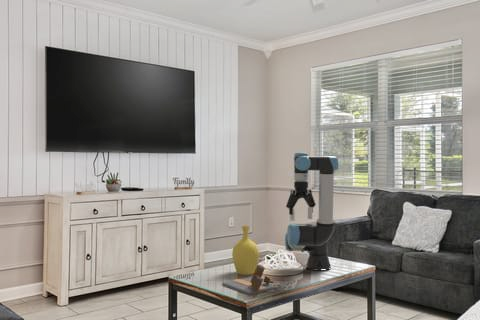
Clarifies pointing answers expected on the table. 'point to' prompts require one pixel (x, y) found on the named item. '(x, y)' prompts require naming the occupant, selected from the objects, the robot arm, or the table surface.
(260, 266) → the wooden block set
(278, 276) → the table surface
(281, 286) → the table surface
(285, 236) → the robot arm
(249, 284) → the board
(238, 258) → the vase
